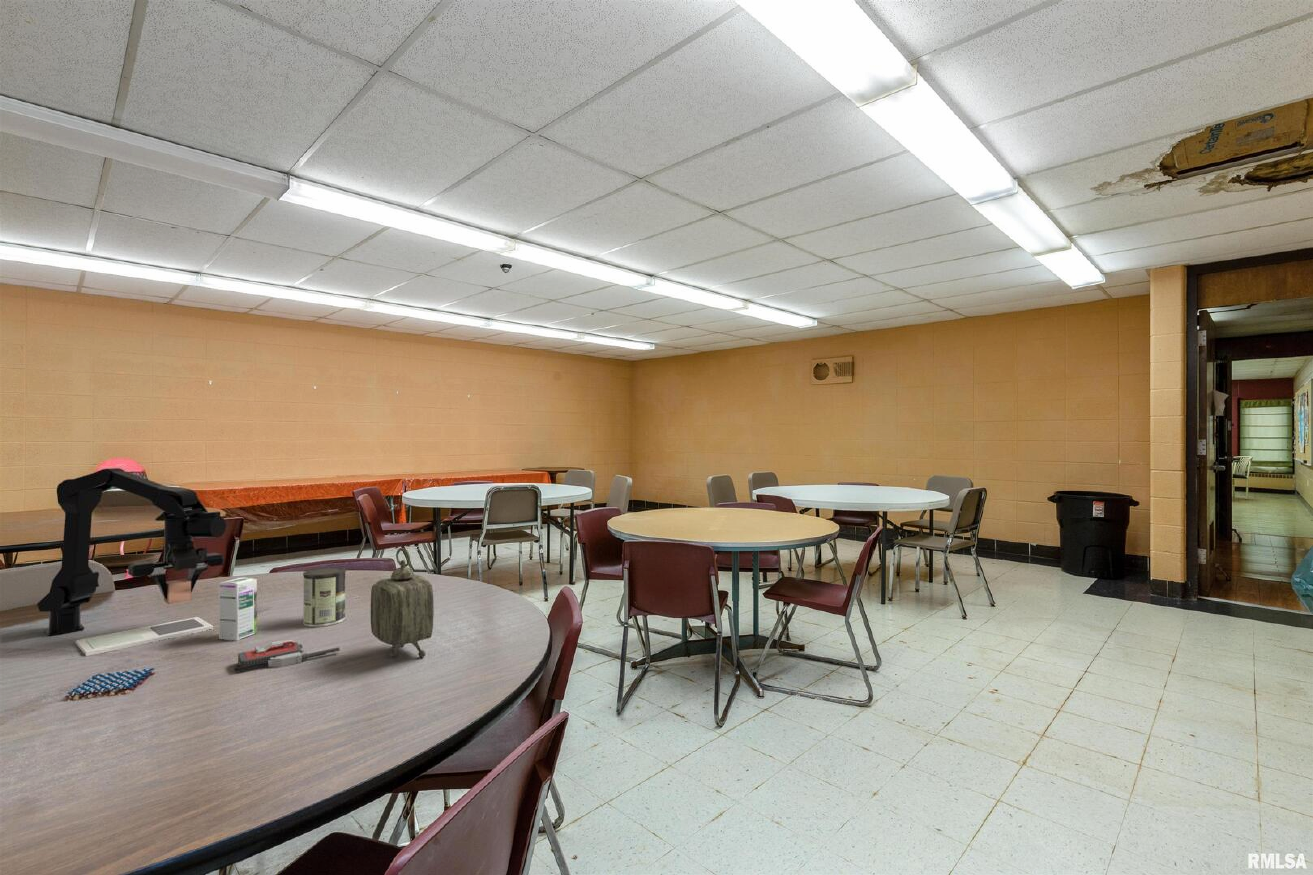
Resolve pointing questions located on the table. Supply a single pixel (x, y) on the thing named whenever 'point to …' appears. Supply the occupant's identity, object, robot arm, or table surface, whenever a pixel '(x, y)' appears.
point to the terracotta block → (178, 591)
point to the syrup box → (237, 608)
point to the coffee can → (324, 596)
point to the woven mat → (110, 684)
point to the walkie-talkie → (275, 656)
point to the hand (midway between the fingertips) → (177, 596)
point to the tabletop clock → (402, 608)
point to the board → (141, 635)
